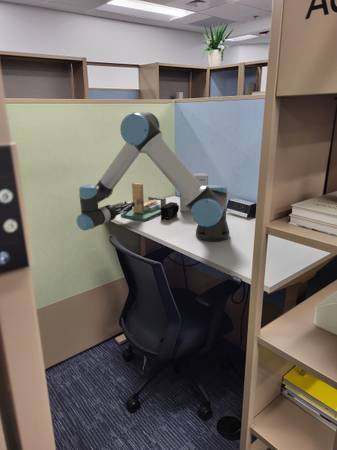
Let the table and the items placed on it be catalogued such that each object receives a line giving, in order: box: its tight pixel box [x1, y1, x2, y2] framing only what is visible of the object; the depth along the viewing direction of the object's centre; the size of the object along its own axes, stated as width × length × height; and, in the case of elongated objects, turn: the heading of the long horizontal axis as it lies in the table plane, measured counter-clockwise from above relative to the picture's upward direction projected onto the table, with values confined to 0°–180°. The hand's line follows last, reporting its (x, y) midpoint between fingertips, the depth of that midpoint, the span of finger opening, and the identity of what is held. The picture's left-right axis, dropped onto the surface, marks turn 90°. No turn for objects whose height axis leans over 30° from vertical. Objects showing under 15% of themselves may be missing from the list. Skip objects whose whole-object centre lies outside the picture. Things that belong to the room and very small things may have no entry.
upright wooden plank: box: [131, 182, 158, 214], centre depth 188 cm, size 15×6×16 cm, turn 147°
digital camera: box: [160, 201, 180, 222], centre depth 182 cm, size 10×5×7 cm, turn 151°
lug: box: [148, 195, 167, 207], centre depth 198 cm, size 3×10×5 cm, turn 57°
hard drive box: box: [179, 173, 209, 212], centre depth 192 cm, size 16×8×20 cm, turn 84°
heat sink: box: [144, 202, 160, 212], centre depth 193 cm, size 8×8×3 cm
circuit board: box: [120, 204, 161, 222], centre depth 191 cm, size 25×16×2 cm, turn 147°
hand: (136, 202), depth 183 cm, fingers closed
